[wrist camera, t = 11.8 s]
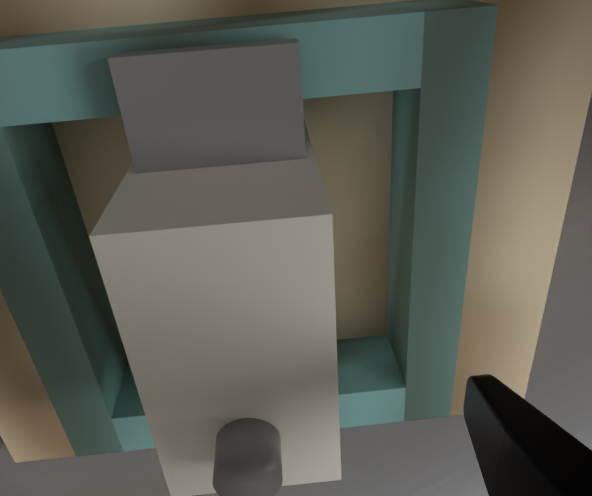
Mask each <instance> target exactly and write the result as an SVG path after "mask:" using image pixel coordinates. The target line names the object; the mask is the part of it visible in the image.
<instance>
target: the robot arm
mask: <svg viewBox="0 0 592 496" xmlns="http://www.w3.org/2000/svg"><path fill="white" fill-rule="evenodd" d="M463 412H464V418H465V421H466V425H467V428H468V431H469V434H470V437H471V441H472V444H473V447H474V450H475V453H476V457H477V460H478V463H479V466H480V469H481V472H482V476H483V479H484V482H485V485H486V488H487V491H488V494H489V496H592V450H590V449H589V448H588V447H586V446H585V445H584V444H582V443H581V442H580V441H578V440H577V439H576V438H575V437H573V436H572V435H571V434H569V433H568V432H567V431H565V430H564V429H563V428H561V427H560V426H559V425H557V424H556V423H555V422H554V421H552V420H551V419H550V418H548V417H547V416H546V415H544V414H543V413H542V412H540V411H539V410H538V409H536V408H535V407H534V406H533V405H531V404H530V403H529V402H527V401H526V400H525V399H523V398H522V397H521V396H519V395H518V394H517V393H515V392H514V391H513V390H512V389H510V388H509V387H508V386H506V385H505V384H504V383H502V382H501V381H500V380H498V379H497V378H496V377H494V376H493V375H490V374H483V375H474V376H470V377H469V378H468V379H467V383H466V391H465V398H464V405H463Z"/></svg>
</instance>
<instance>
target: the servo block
mask: <svg viewBox="0 0 592 496" xmlns="http://www.w3.org/2000/svg"><path fill="white" fill-rule="evenodd" d="M107 59H108V63H109V67H110V71H111V75H112V79H113V83H114V87H115V92H116V96H117V100H118V104H119V108H120V112H121V116H122V120H123V124H124V128H125V133H126V137H127V141H128V145H129V149H130V153H131V157H132V161H133V163H132V165H131V167H130V168H129V170H128V172H127V173H126V175H125V177H124V179H123V180H122V182H121V184H120V185H119V187H118V189H117V190H116V192H115V194H114V195H113V197H112V199H111V200H110V202H109V204H108V205H107V207H106V209H105V210H104V212H103V214H102V215H101V217H100V219H99V220H98V222H97V224H96V225H95V227H94V229H93V231H92V232H91V234H90V236H89V238H90V241H91V244H92V247H93V251H94V254H95V257H96V260H97V263H98V266H99V270H100V273H101V276H102V279H103V282H104V286H105V289H106V292H107V295H108V298H109V301H110V305H111V308H112V311H113V314H114V317H115V320H116V324H117V327H118V330H119V333H120V336H121V339H122V343H123V346H124V349H125V352H126V355H127V359H128V362H129V365H130V368H131V371H132V374H133V378H134V381H135V384H136V387H137V390H138V393H139V397H140V400H141V403H142V406H143V409H144V412H145V416H146V419H147V422H148V425H149V428H150V432H151V435H152V438H153V441H154V444H155V447H156V451H157V454H158V457H159V460H160V463H161V466H162V470H163V473H164V476H165V479H166V482H167V485H168V489H169V492H170V495H171V496H192V495H202V494H211V493H218V494H219V495H220V496H273V495H274V494H276V493H277V492H278V491H279V489H280V488H281V486H287V485H297V484H306V483H316V482H325V481H335V480H341V455H340V425H339V396H338V366H337V336H336V306H335V276H334V246H333V216H332V211H331V208H330V204H329V201H328V198H327V194H326V191H325V188H324V184H323V181H322V177H321V174H320V171H319V167H318V164H317V161H316V157H315V154H314V151H313V147H312V144H311V141H310V137H309V134H308V130H307V127H306V124H305V120H304V113H303V96H302V79H301V62H300V45H299V41H298V39H297V38H292V39H280V40H268V41H256V42H244V43H231V44H219V45H207V46H195V47H182V48H170V49H158V50H146V51H134V52H121V53H114V54H113V55H112V56H110V57H109V58H107Z"/></svg>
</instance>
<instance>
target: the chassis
mask: <svg viewBox="0 0 592 496" xmlns="http://www.w3.org/2000/svg"><path fill="white" fill-rule="evenodd" d="M292 38H297V39H298V41H299V45H300V62H301V79H302V96H303V113H304V120H305V124H306V127H307V130H308V134H309V137H310V141H311V144H312V147H313V151H314V154H315V157H316V161H317V164H318V167H319V171H320V174H321V177H322V181H323V184H324V188H325V191H326V194H327V198H328V201H329V204H330V208H331V211H332V216H333V246H334V276H335V306H336V336H337V366H338V396H339V425H340V428H346V427H355V426H364V425H374V424H383V423H392V422H402V421H411V420H420V419H430V418H439V417H448V416H453V415H462V414H464V412H463V405H464V398H465V391H466V383H467V379H468V378H469V377H470V376H474V375H483V374H490V375H493V376H494V377H496V378H497V379H498V380H500V381H501V382H502V383H504V384H505V385H506V386H508V387H509V388H510V389H512V390H513V391H514V392H515V393H517V394H518V395H519V396H521V397H522V398H523V399H524V398H525V394H526V389H527V385H528V380H529V375H530V371H531V366H532V362H533V357H534V353H535V348H536V344H537V339H538V335H539V330H540V326H541V321H542V316H543V312H544V307H545V303H546V298H547V294H548V289H549V285H550V280H551V276H552V271H553V266H554V262H555V257H556V253H557V248H558V244H559V239H560V235H561V230H562V226H563V221H564V216H565V212H566V207H567V203H568V198H569V194H570V189H571V185H572V180H573V176H574V171H575V167H576V162H577V157H578V153H579V148H580V144H581V139H582V135H583V130H584V126H585V121H586V117H587V112H588V107H589V103H590V98H591V94H592V0H0V436H1V438H2V440H3V441H4V443H5V445H6V447H7V449H8V450H9V452H10V454H11V456H12V458H13V459H14V461H15V463H16V462H25V461H35V460H44V459H53V458H62V457H72V456H86V455H95V454H104V453H114V452H123V451H132V450H141V449H151V448H156V447H155V444H154V441H153V438H152V435H151V432H150V428H149V425H148V422H147V419H146V416H145V412H144V409H143V406H142V403H141V400H140V397H139V393H138V390H137V387H136V384H135V381H134V378H133V374H132V371H131V368H130V365H129V362H128V359H127V355H126V352H125V349H124V346H123V343H122V339H121V336H120V333H119V330H118V327H117V324H116V320H115V317H114V314H113V311H112V308H111V305H110V301H109V298H108V295H107V292H106V289H105V286H104V282H103V279H102V276H101V273H100V270H99V266H98V263H97V260H96V257H95V254H94V251H93V247H92V244H91V241H90V238H89V236H90V234H91V232H92V231H93V229H94V227H95V225H96V224H97V222H98V220H99V219H100V217H101V215H102V214H103V212H104V210H105V209H106V207H107V205H108V204H109V202H110V200H111V199H112V197H113V195H114V194H115V192H116V190H117V189H118V187H119V185H120V184H121V182H122V180H123V179H124V177H125V175H126V173H127V172H128V170H129V168H130V167H131V165H132V163H133V161H132V157H131V153H130V149H129V145H128V141H127V137H126V133H125V128H124V124H123V120H122V116H121V112H120V108H119V104H118V100H117V96H116V92H115V87H114V83H113V79H112V75H111V71H110V67H109V63H108V59H107V58H109V57H110V56H112V55H113V54H114V53H121V52H134V51H146V50H158V49H170V48H182V47H195V46H207V45H219V44H231V43H244V42H256V41H268V40H280V39H292Z"/></svg>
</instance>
